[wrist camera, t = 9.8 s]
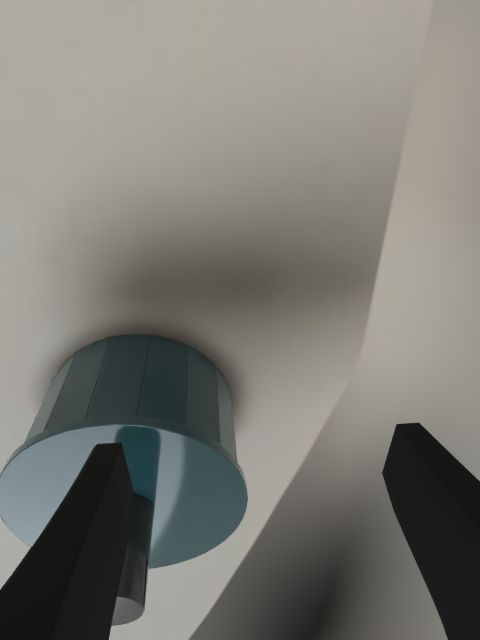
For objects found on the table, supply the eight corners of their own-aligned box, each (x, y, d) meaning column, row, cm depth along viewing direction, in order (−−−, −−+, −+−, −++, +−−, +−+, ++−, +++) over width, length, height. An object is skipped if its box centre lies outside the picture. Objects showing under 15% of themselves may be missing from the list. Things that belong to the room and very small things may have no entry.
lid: (246, 395, 16) (262, 515, 12) (244, 540, 22) (255, 654, 18) (-33, 411, 16) (-120, 545, 11) (42, 556, 22) (3, 680, 17)
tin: (229, 329, 21) (238, 414, 16) (231, 456, 27) (238, 548, 22) (29, 339, 20) (-25, 430, 15) (74, 466, 26) (45, 564, 21)
